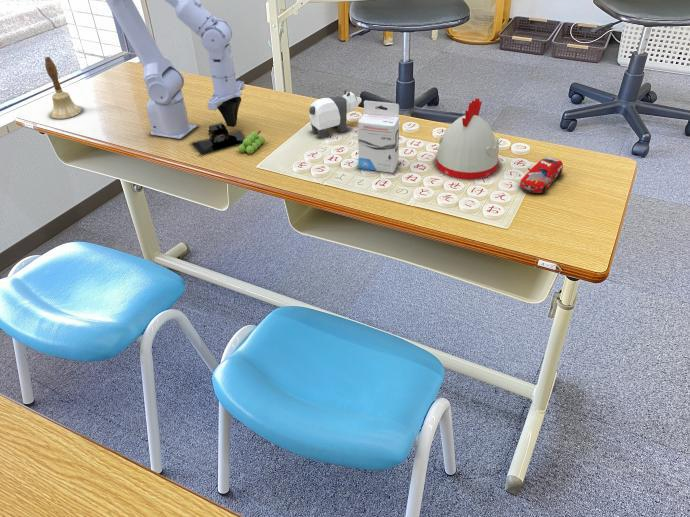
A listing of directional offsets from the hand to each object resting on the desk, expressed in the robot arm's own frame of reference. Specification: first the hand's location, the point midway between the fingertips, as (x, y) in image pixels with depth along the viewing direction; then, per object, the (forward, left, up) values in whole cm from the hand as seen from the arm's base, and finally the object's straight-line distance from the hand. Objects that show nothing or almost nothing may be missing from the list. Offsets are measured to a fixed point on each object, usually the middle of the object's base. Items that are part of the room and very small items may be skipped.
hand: (231, 125), depth 152 cm
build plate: (0, -6, -2) cm, 7 cm away
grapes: (+9, -6, -2) cm, 11 cm away
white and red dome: (+61, +1, -2) cm, 61 cm away
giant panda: (+25, +9, -2) cm, 27 cm away
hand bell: (-53, -3, -2) cm, 53 cm away
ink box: (+42, -6, -2) cm, 42 cm away
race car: (+78, -2, -2) cm, 78 cm away
